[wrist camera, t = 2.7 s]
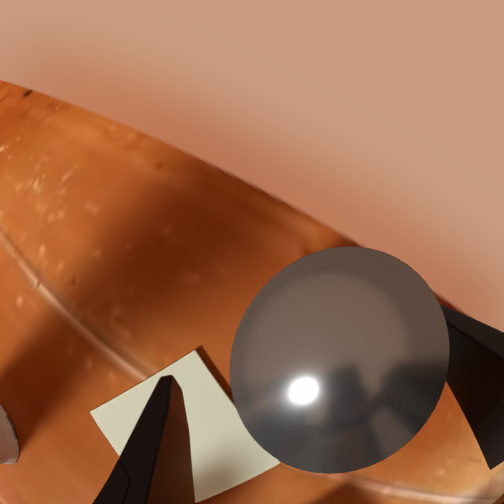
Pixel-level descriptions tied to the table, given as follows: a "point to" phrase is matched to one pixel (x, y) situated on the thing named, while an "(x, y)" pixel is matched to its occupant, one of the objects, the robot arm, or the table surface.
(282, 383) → the silver metal cylinder
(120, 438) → the mat
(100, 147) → the table surface
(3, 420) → the container
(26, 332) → the table surface
